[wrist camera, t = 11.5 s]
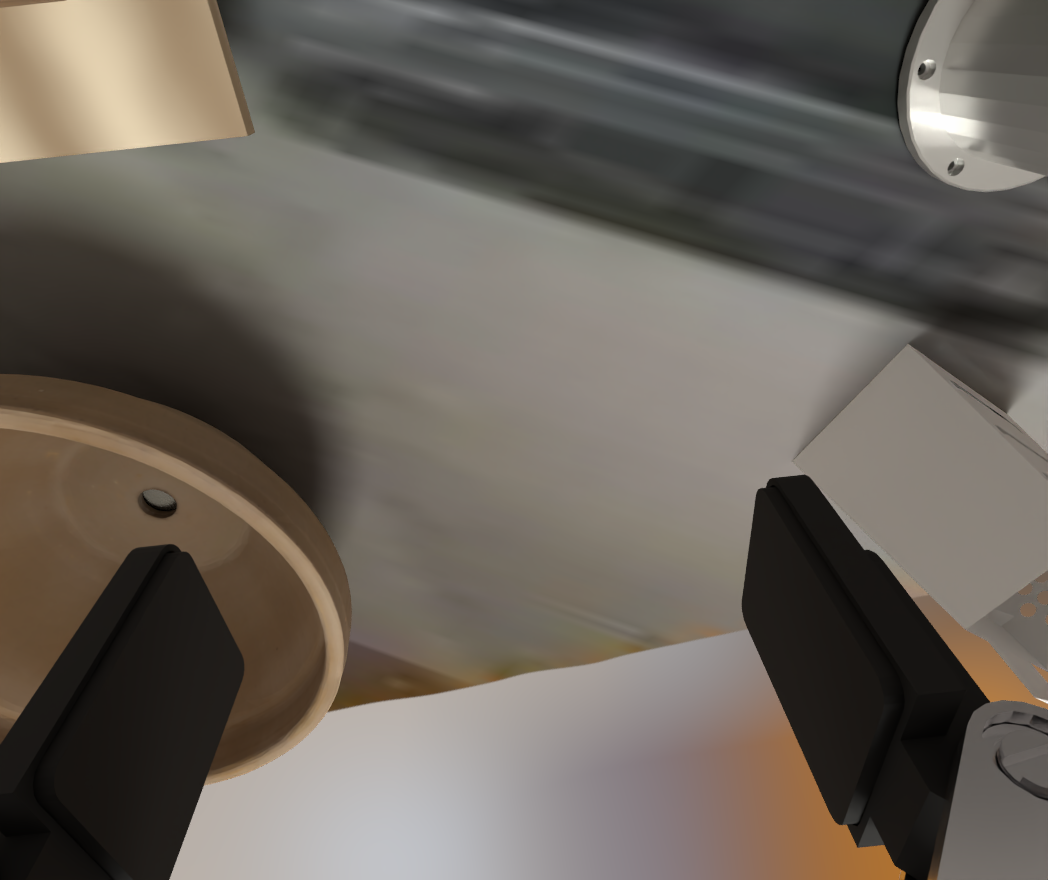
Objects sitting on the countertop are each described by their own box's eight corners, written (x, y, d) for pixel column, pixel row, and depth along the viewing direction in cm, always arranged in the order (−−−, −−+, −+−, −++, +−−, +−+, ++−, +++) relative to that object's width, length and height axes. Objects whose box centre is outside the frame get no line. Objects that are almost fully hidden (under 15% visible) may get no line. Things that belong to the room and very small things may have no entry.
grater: (1006, 414, 44) (1329, 649, 27) (889, 516, 49) (1104, 772, 32) (908, 343, 41) (1207, 563, 24) (791, 461, 45) (975, 715, 29)
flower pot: (293, 255, 36) (209, 357, 24) (419, 604, 51) (403, 763, 40) (-185, 342, 37) (-473, 476, 26) (80, 657, 52) (-28, 827, 41)
